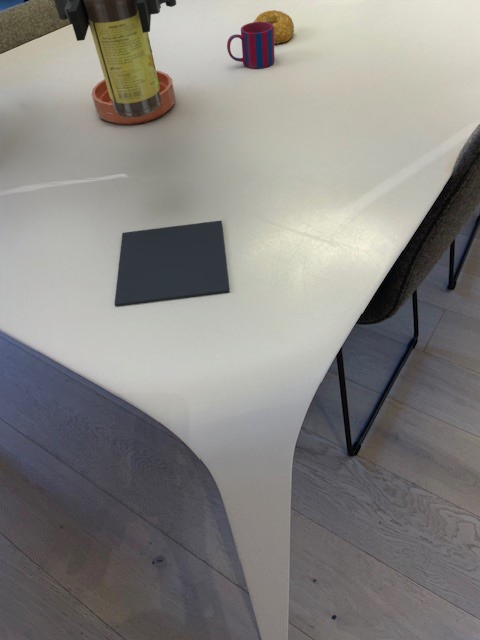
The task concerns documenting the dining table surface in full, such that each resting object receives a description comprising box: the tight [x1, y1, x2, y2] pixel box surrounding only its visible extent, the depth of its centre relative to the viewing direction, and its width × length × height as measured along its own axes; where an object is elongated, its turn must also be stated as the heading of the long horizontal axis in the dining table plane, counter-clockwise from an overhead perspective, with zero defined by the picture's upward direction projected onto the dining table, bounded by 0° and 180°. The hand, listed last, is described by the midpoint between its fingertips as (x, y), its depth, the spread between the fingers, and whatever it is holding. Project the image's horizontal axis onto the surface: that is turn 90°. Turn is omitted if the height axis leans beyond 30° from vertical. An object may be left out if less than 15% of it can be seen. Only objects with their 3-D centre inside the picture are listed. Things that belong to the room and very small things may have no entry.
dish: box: [91, 70, 176, 125], centre depth 94 cm, size 15×15×4 cm
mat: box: [114, 220, 230, 307], centre depth 64 cm, size 14×14×1 cm
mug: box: [226, 21, 275, 70], centre depth 103 cm, size 7×10×7 cm
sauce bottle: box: [83, 0, 161, 118], centre depth 55 cm, size 6×6×20 cm
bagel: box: [253, 9, 295, 45], centre depth 112 cm, size 10×11×5 cm
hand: (110, 21), depth 51 cm, fingers closed on sauce bottle, 6 cm apart
